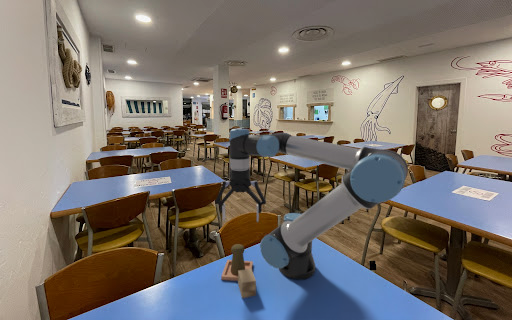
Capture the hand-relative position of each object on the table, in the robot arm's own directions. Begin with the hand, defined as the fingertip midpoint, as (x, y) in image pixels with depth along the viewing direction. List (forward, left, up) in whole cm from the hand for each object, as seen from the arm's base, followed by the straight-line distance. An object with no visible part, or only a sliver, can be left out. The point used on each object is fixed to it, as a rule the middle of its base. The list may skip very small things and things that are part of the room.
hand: (240, 220), depth 97 cm
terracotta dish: (+1, +3, -21) cm, 21 cm away
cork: (+1, +3, -21) cm, 21 cm away
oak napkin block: (-4, +13, -21) cm, 25 cm away
